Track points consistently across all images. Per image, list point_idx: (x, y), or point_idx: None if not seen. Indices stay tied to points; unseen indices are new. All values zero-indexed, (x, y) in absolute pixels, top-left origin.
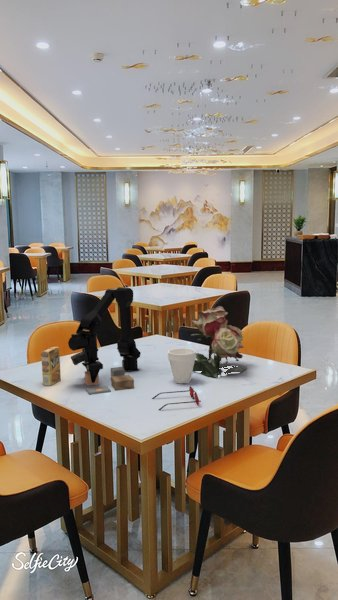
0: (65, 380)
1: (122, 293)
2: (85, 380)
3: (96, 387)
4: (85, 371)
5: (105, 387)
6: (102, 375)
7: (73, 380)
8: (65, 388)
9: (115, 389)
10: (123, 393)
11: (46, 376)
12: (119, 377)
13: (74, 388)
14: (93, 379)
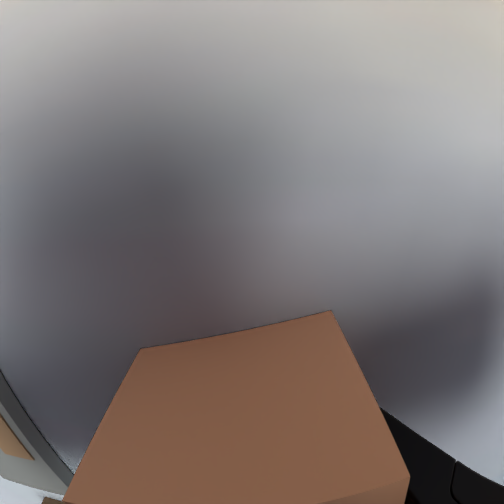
0: (477, 12)
1: None
2: (279, 351)
3: (7, 425)
4: (385, 497)
5: (36, 477)
6: (495, 441)
7: (477, 116)
8: (55, 18)
9: (44, 501)
10: (12, 497)
11: None
12: None
13: (23, 152)
14: None
